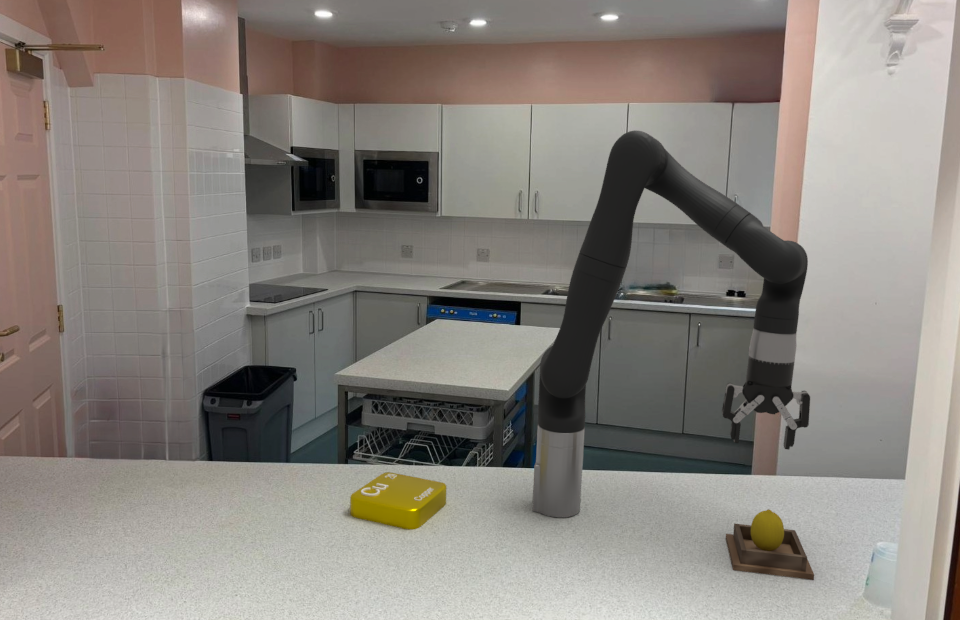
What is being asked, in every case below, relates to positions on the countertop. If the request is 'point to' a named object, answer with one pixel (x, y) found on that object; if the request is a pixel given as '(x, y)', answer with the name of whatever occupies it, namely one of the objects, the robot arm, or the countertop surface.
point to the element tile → (398, 500)
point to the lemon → (767, 530)
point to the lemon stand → (768, 555)
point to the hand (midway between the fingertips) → (761, 444)
